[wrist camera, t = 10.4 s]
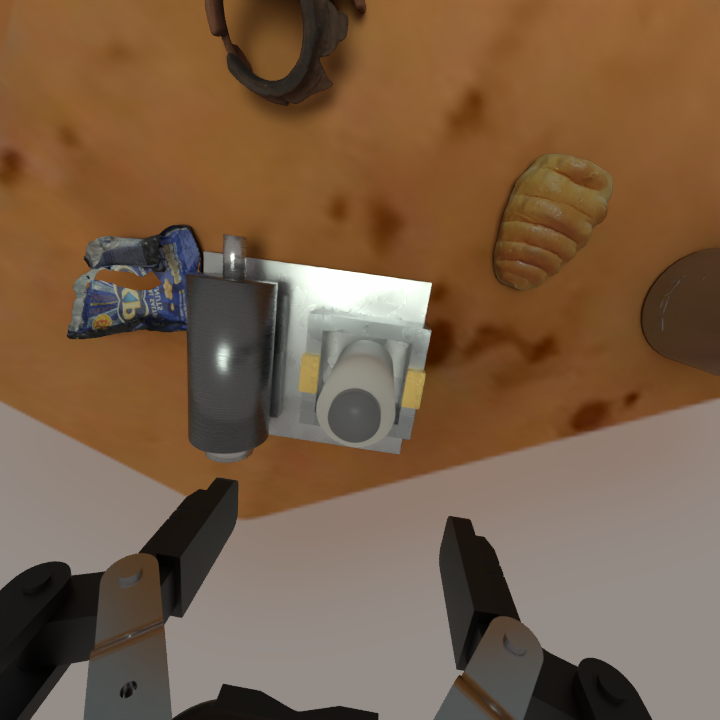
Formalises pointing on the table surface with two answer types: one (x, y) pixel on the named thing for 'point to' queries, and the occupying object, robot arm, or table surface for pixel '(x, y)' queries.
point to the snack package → (131, 307)
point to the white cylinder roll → (358, 396)
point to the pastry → (549, 218)
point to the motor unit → (290, 347)
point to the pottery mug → (318, 40)
